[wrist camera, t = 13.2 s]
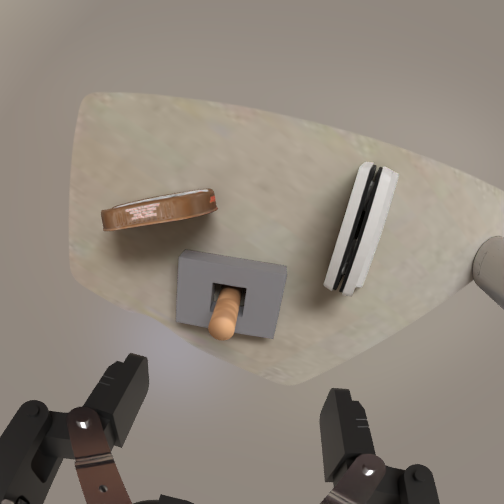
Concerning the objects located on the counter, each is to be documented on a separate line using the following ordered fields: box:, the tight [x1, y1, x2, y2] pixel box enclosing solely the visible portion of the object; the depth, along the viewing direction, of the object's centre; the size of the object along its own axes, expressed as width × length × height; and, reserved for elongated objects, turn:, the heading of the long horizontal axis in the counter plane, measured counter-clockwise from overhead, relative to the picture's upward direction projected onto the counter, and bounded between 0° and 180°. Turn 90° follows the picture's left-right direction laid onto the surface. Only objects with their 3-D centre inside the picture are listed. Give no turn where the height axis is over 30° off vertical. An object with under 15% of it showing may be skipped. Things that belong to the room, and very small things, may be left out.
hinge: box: [324, 162, 399, 296], centre depth 36 cm, size 17×5×10 cm, turn 167°
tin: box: [101, 189, 218, 231], centre depth 37 cm, size 15×3×8 cm, turn 98°
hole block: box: [176, 249, 287, 339], centre depth 43 cm, size 14×10×3 cm
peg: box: [208, 284, 242, 340], centre depth 40 cm, size 3×3×10 cm
